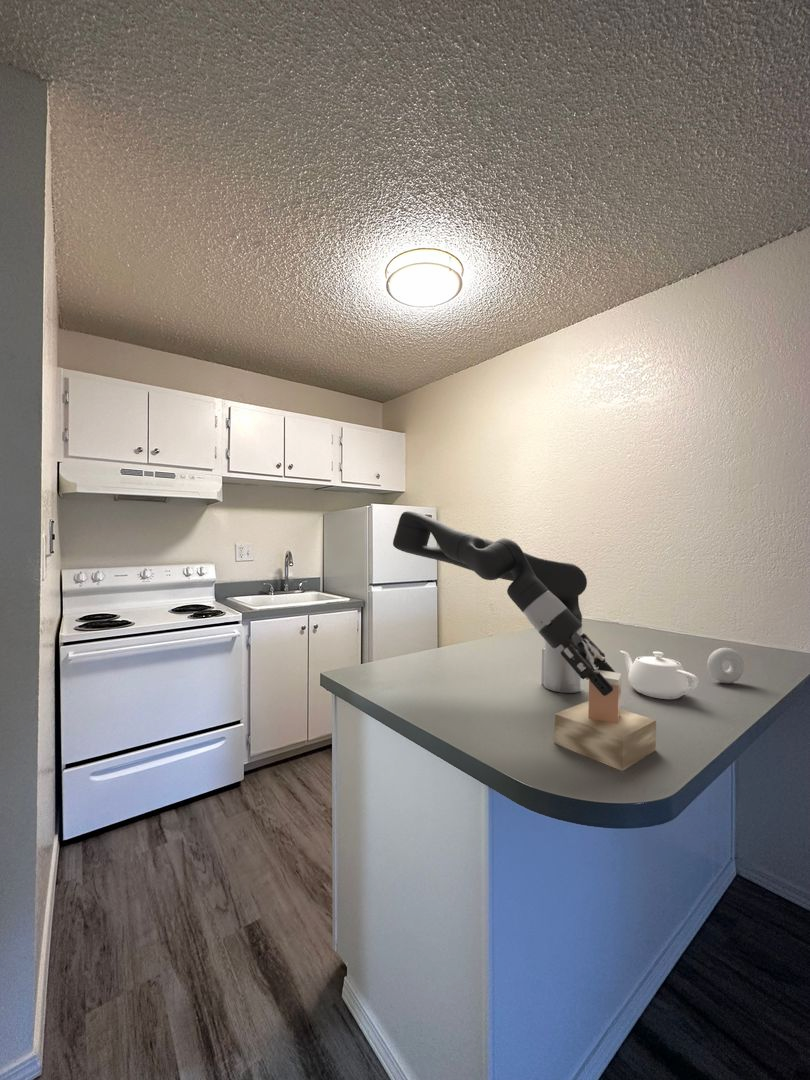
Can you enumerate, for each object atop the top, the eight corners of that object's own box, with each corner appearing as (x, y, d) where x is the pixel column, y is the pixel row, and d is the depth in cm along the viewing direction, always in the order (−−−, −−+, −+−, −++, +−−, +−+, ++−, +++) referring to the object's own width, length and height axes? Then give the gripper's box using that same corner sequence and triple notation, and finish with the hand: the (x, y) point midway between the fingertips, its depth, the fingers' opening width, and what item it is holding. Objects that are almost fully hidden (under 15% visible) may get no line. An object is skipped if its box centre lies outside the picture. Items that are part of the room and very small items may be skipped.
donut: (738, 681, 129) (738, 646, 129) (747, 685, 126) (748, 649, 126) (703, 681, 129) (704, 646, 129) (712, 684, 125) (713, 648, 125)
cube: (588, 717, 84) (589, 675, 84) (592, 709, 89) (593, 669, 89) (617, 723, 82) (618, 679, 82) (620, 715, 86) (621, 673, 86)
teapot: (715, 703, 110) (715, 659, 110) (677, 711, 105) (678, 664, 105) (636, 678, 130) (637, 640, 130) (601, 683, 125) (602, 644, 125)
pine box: (554, 745, 86) (554, 713, 86) (589, 728, 94) (590, 700, 94) (622, 773, 76) (623, 737, 76) (655, 752, 84) (656, 720, 84)
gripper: (547, 625, 98) (603, 688, 92) (527, 636, 86) (590, 709, 80) (573, 603, 95) (632, 666, 89) (556, 611, 83) (624, 685, 77)
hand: (612, 686), depth 85 cm, fingers open, 8 cm apart
